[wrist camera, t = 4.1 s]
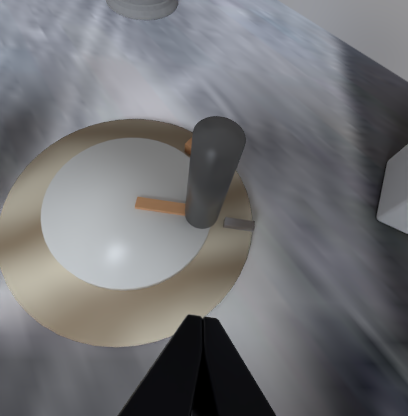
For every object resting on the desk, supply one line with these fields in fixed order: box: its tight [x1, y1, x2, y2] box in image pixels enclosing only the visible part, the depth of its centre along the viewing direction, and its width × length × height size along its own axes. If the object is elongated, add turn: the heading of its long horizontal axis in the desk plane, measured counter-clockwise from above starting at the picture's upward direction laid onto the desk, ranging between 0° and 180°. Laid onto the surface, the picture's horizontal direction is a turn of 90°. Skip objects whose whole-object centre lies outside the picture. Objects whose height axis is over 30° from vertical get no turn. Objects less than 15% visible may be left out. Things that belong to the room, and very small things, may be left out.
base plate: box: [0, 119, 254, 347], centre depth 20 cm, size 18×18×2 cm
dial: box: [41, 116, 246, 291], centre depth 16 cm, size 12×12×9 cm
